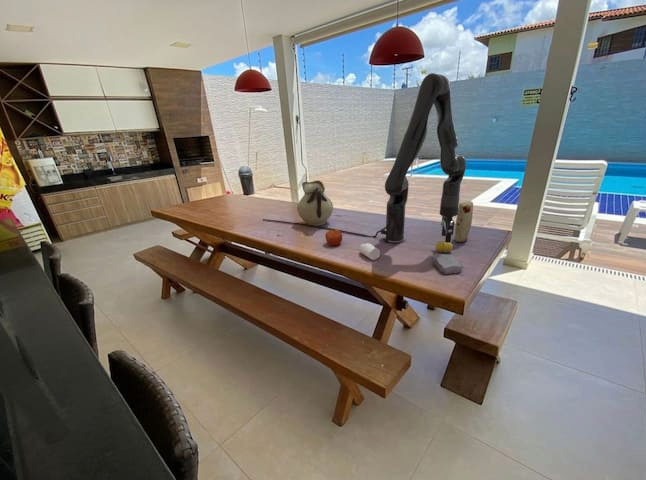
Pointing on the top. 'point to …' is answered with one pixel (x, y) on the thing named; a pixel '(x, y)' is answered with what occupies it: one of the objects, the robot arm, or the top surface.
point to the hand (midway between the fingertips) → (445, 239)
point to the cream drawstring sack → (314, 204)
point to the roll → (370, 251)
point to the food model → (463, 221)
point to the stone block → (447, 264)
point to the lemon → (444, 246)
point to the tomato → (333, 237)
